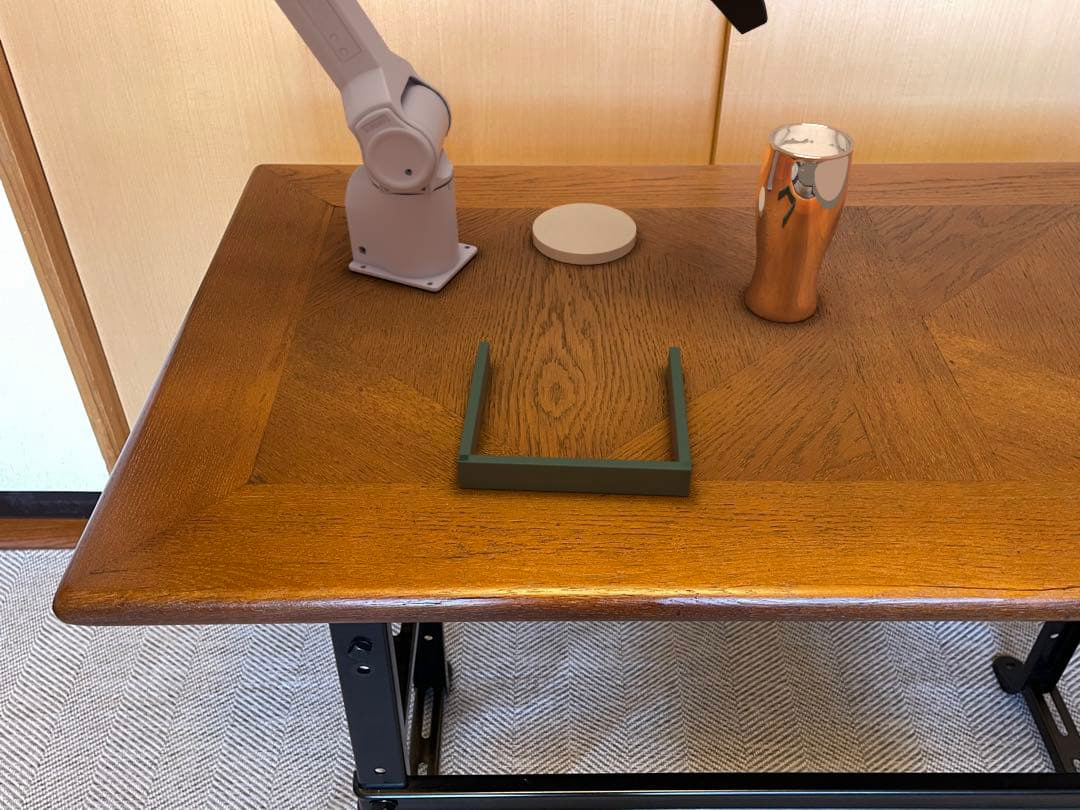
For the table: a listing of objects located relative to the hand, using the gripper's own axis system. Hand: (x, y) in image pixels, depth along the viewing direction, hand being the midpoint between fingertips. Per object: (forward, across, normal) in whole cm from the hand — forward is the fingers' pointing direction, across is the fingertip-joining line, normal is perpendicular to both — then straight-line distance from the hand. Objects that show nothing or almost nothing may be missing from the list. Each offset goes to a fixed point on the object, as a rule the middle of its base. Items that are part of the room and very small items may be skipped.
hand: (760, 3), depth 70 cm
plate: (+13, -1, +24) cm, 27 cm away
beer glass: (+22, -8, +7) cm, 25 cm away
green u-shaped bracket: (+12, -28, +17) cm, 35 cm away
